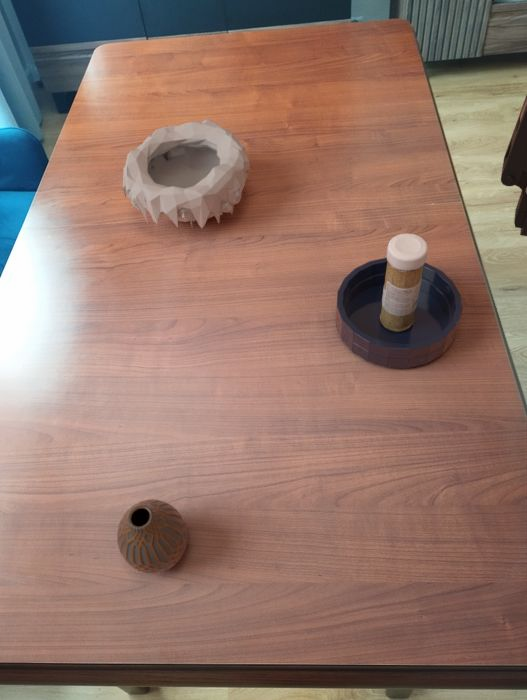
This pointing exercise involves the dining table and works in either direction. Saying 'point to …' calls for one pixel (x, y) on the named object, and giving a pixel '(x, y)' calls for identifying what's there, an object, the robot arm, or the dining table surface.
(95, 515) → the dining table surface
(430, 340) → the pan
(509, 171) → the robot arm
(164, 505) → the vase
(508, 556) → the dining table surface
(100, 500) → the dining table surface
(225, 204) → the bowl
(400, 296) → the sprinkles bottle
